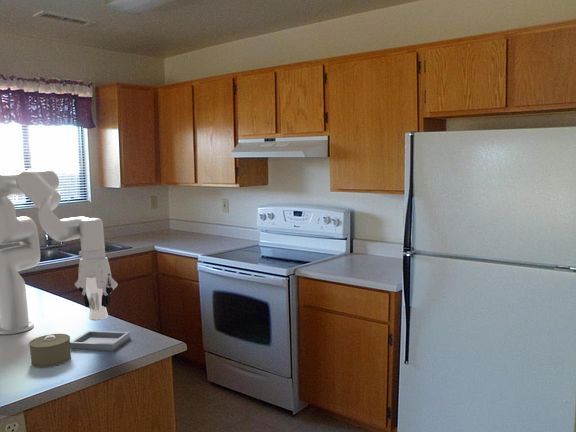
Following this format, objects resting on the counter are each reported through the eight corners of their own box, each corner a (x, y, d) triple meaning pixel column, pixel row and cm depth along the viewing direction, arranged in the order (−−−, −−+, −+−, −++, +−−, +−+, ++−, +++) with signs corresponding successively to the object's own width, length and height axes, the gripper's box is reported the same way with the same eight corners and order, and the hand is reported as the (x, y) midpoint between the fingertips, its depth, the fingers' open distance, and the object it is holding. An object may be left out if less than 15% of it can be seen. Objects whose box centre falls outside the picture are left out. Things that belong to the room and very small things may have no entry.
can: (29, 371, 159) (27, 349, 158) (31, 357, 170) (30, 337, 169) (72, 363, 163) (70, 342, 162) (71, 351, 174) (69, 331, 173)
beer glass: (102, 321, 174) (98, 277, 173) (83, 320, 176) (80, 277, 174) (113, 314, 181) (109, 273, 179) (95, 314, 183) (91, 272, 181)
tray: (69, 349, 175) (68, 342, 175) (89, 337, 187) (88, 330, 187) (113, 351, 172) (112, 344, 172) (130, 338, 184) (129, 332, 184)
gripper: (64, 256, 174) (68, 308, 176) (111, 256, 171) (115, 309, 173) (76, 252, 181) (81, 302, 183) (122, 252, 178) (126, 303, 180)
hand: (97, 305), depth 178 cm, fingers closed on beer glass, 6 cm apart
